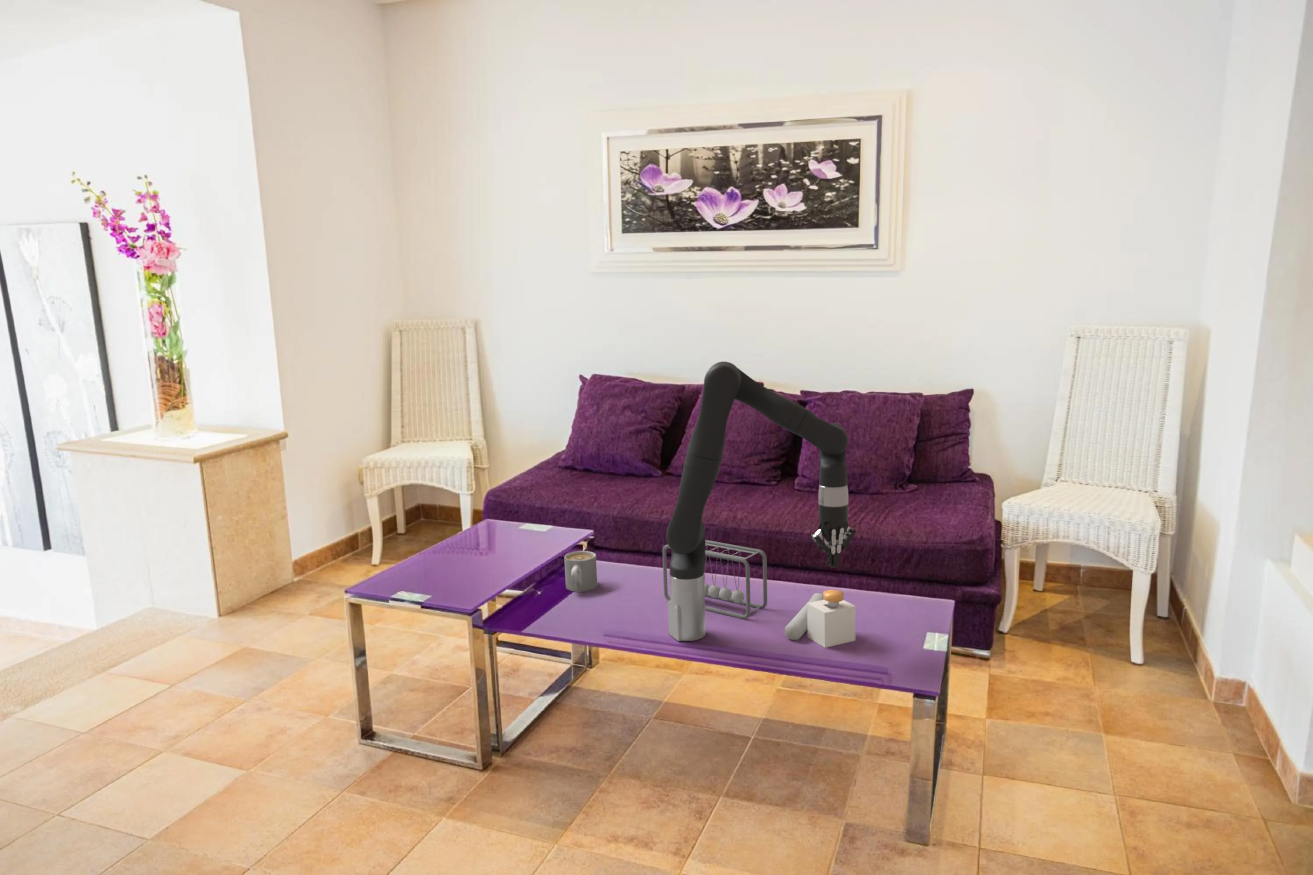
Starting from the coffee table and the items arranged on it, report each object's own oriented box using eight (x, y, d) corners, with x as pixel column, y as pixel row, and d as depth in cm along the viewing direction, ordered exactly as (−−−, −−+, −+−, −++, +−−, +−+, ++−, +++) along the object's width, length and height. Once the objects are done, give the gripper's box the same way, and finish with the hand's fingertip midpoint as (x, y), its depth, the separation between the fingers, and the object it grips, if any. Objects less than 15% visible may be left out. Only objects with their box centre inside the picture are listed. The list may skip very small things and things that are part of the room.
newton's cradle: (768, 609, 261) (767, 550, 257) (749, 621, 252) (748, 560, 249) (683, 590, 278) (681, 535, 275) (663, 600, 270) (661, 543, 267)
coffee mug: (574, 579, 292) (573, 549, 290) (602, 582, 288) (601, 552, 286) (555, 593, 279) (553, 562, 278) (583, 596, 276) (582, 565, 274)
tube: (803, 630, 235) (830, 597, 257) (784, 621, 237) (813, 589, 259) (797, 647, 237) (825, 613, 259) (779, 638, 239) (808, 605, 261)
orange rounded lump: (830, 610, 232) (831, 597, 232) (819, 604, 237) (819, 591, 236) (847, 607, 234) (847, 594, 234) (836, 600, 239) (836, 588, 238)
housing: (824, 647, 233) (824, 612, 231) (807, 636, 240) (807, 602, 238) (855, 640, 236) (855, 606, 235) (837, 630, 244) (837, 596, 242)
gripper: (819, 508, 225) (820, 574, 228) (863, 501, 230) (863, 566, 233) (803, 502, 231) (803, 566, 234) (846, 495, 236) (846, 558, 240)
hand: (833, 566), depth 234 cm, fingers closed
